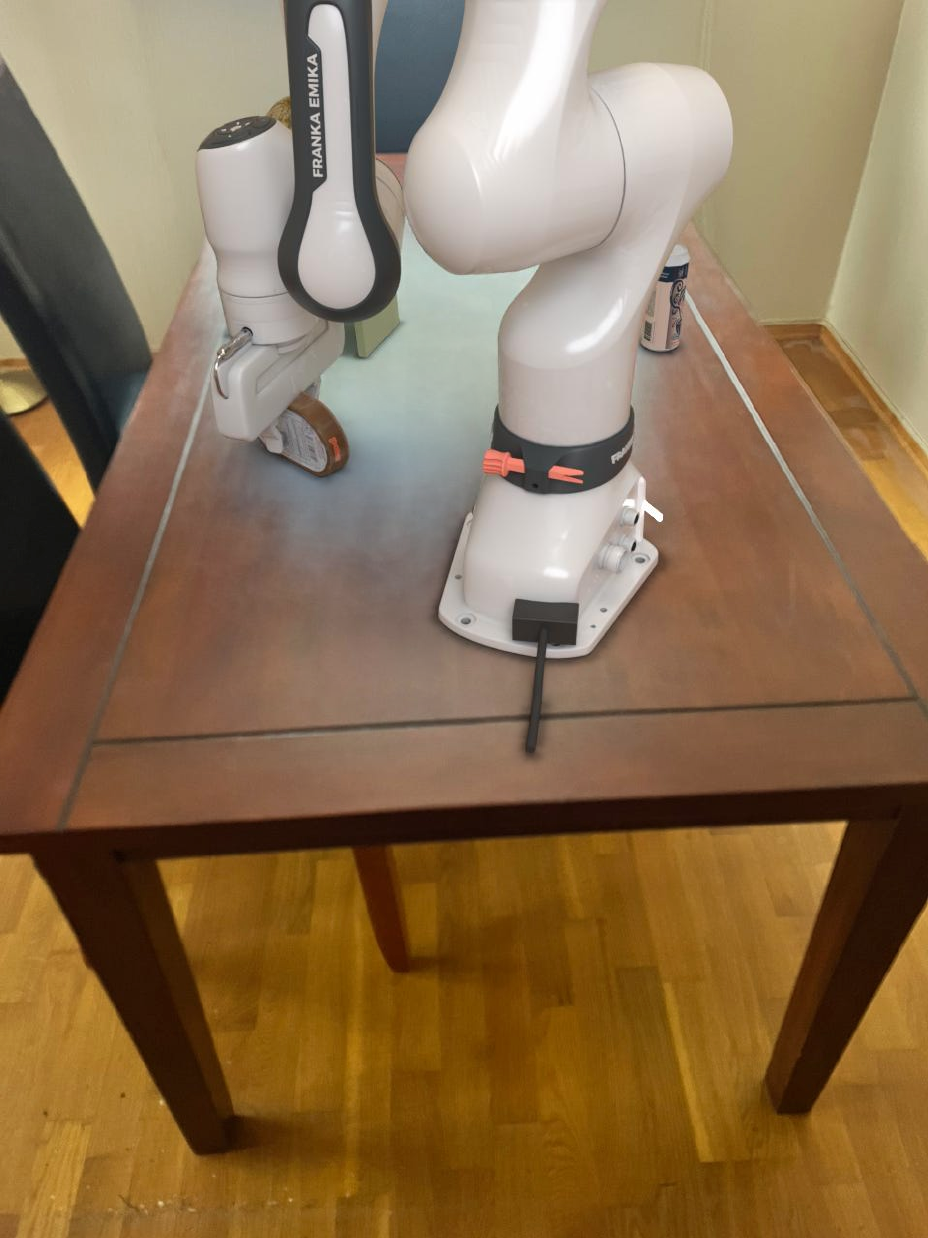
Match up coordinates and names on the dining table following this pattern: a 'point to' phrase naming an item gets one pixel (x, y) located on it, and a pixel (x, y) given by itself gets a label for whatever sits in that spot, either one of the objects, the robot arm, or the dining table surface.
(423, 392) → the dining table surface
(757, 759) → the dining table surface
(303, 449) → the tin
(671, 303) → the beer can
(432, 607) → the dining table surface
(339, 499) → the dining table surface
